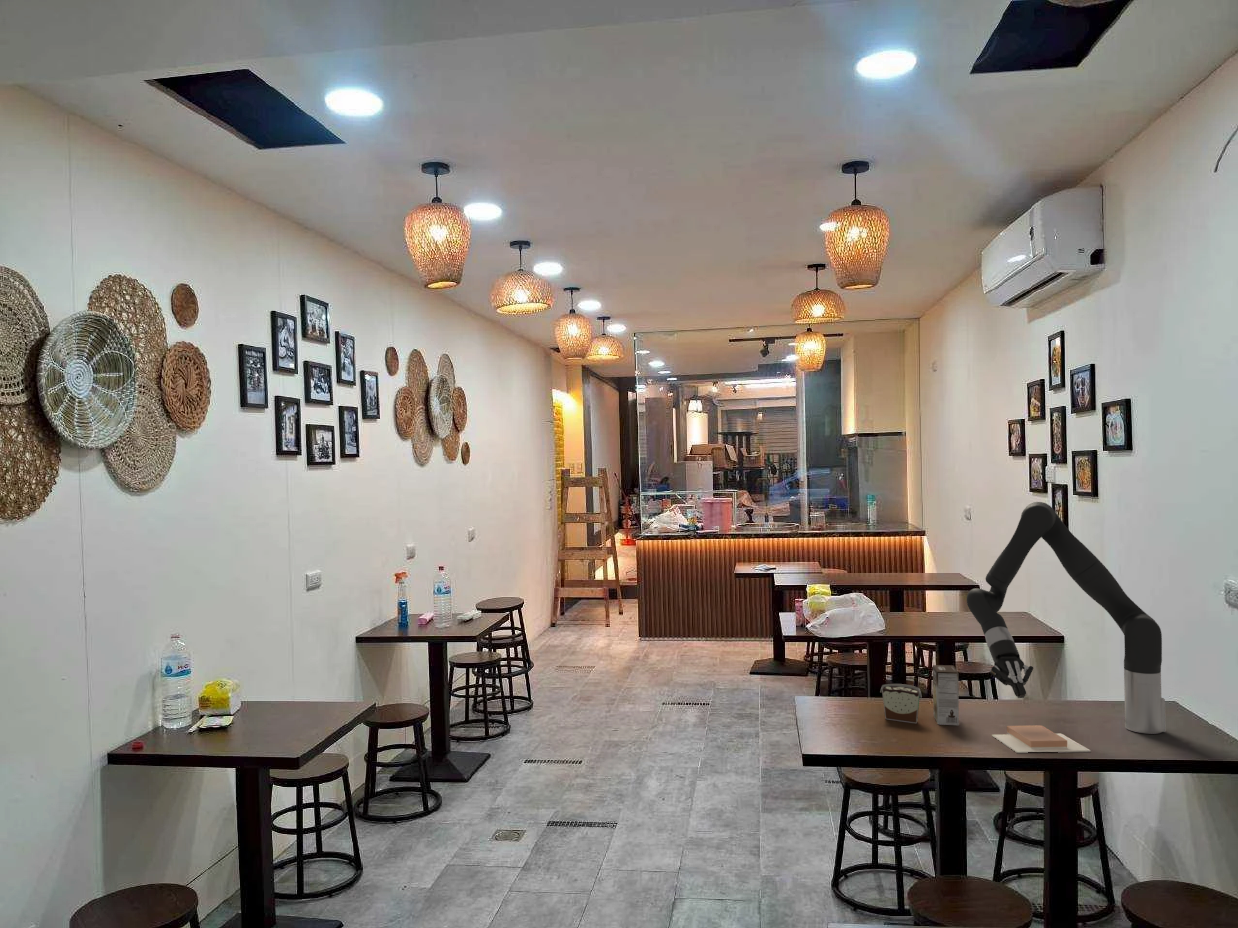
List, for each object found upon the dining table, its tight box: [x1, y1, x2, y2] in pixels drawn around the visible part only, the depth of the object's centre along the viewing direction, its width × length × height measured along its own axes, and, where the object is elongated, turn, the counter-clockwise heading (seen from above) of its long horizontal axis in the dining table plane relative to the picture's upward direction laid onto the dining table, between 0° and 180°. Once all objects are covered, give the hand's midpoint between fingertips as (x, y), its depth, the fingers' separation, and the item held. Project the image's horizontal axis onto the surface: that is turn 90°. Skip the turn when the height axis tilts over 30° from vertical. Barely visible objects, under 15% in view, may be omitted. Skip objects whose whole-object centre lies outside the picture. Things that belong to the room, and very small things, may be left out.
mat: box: [991, 733, 1092, 754], centre depth 238 cm, size 20×15×1 cm
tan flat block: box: [1006, 724, 1067, 748], centre depth 240 cm, size 10×2×14 cm
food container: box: [879, 683, 923, 724], centre depth 264 cm, size 12×6×10 cm, turn 58°
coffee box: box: [932, 664, 960, 726], centre depth 261 cm, size 9×6×16 cm
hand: (1021, 696), depth 248 cm, fingers closed
